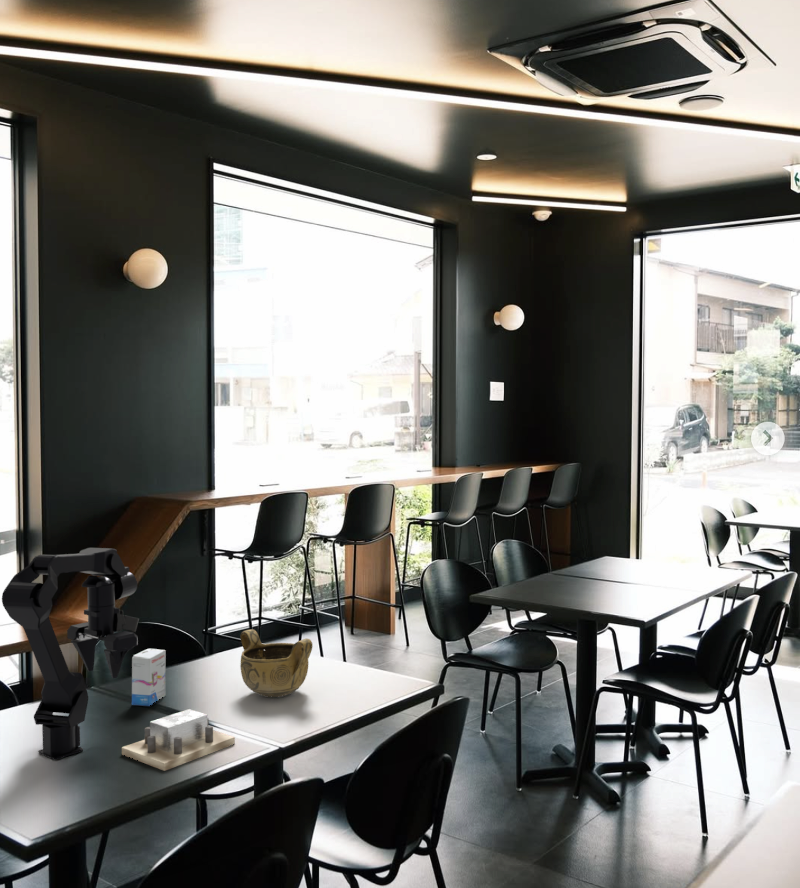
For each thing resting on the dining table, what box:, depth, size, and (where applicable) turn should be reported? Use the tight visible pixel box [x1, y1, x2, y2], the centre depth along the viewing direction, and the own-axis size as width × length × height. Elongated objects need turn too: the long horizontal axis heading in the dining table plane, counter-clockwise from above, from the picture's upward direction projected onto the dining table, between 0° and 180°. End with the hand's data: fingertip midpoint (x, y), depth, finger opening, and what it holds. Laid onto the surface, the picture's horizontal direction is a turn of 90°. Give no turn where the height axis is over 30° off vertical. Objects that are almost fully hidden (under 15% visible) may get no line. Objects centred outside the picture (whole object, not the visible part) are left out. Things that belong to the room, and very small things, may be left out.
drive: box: [149, 708, 208, 752], centre depth 186 cm, size 10×6×5 cm, turn 142°
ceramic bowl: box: [239, 629, 313, 699], centre depth 223 cm, size 22×17×15 cm
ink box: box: [131, 648, 167, 707], centre depth 218 cm, size 8×5×12 cm, turn 168°
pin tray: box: [121, 717, 236, 772], centre depth 186 cm, size 18×14×4 cm
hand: (102, 674), depth 199 cm, fingers open, 9 cm apart
